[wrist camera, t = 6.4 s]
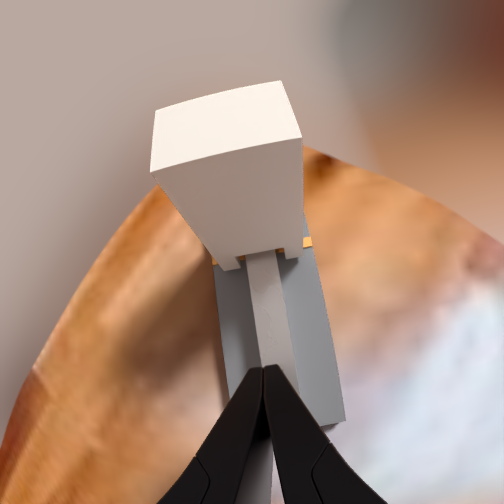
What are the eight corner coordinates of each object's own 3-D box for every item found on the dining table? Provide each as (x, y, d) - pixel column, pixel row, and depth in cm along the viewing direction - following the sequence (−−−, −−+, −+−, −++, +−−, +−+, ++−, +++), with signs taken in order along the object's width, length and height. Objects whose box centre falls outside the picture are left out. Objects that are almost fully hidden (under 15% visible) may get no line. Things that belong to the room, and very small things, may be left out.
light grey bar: (308, 419, 14) (309, 426, 12) (271, 425, 14) (267, 432, 12) (272, 220, 19) (269, 204, 17) (241, 226, 19) (234, 211, 17)
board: (343, 417, 14) (346, 421, 13) (239, 433, 15) (235, 438, 14) (302, 213, 19) (302, 204, 18) (213, 231, 20) (208, 223, 19)
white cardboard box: (303, 256, 17) (302, 136, 8) (223, 271, 17) (149, 172, 8) (292, 210, 18) (280, 80, 9) (218, 225, 18) (155, 110, 10)
